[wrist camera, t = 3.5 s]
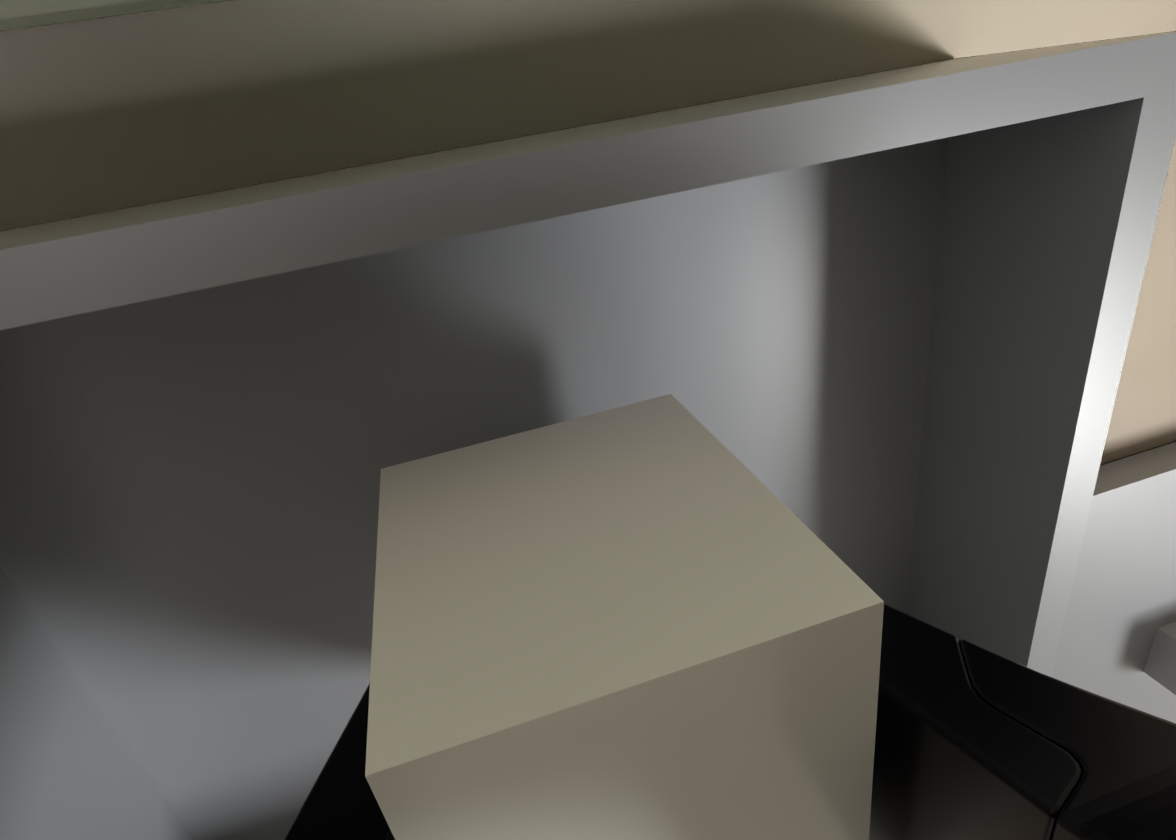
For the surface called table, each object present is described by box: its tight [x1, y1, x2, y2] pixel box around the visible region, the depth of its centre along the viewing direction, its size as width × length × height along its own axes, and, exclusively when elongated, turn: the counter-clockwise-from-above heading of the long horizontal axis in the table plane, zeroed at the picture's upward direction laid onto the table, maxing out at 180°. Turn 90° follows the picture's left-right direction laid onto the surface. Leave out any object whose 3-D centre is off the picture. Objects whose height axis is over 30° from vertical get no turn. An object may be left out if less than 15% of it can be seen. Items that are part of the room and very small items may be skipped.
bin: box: [0, 31, 1176, 840], centre depth 10 cm, size 16×12×4 cm
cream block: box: [365, 394, 884, 840], centre depth 8 cm, size 4×5×4 cm
